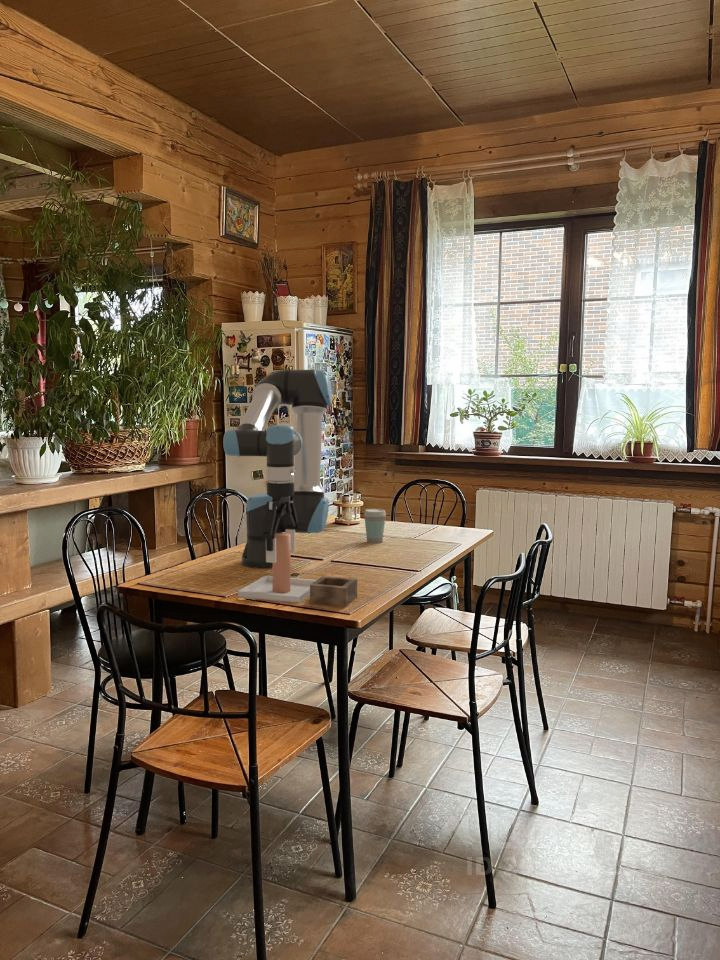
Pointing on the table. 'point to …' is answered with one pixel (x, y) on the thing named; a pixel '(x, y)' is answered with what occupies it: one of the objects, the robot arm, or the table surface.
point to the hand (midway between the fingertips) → (281, 557)
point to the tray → (264, 591)
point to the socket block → (333, 591)
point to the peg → (282, 563)
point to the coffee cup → (374, 525)
